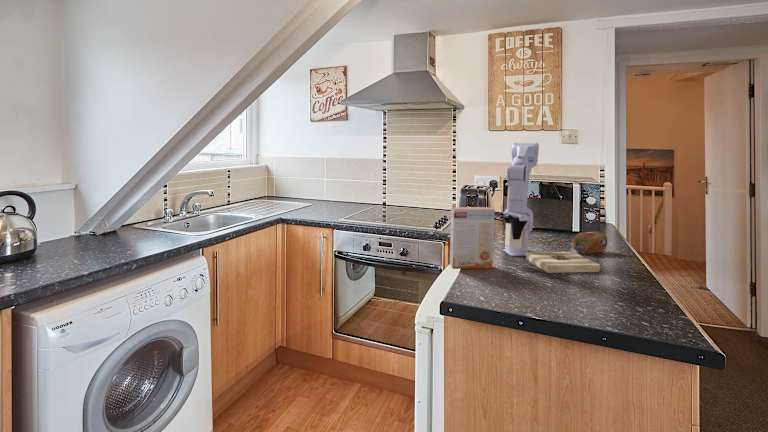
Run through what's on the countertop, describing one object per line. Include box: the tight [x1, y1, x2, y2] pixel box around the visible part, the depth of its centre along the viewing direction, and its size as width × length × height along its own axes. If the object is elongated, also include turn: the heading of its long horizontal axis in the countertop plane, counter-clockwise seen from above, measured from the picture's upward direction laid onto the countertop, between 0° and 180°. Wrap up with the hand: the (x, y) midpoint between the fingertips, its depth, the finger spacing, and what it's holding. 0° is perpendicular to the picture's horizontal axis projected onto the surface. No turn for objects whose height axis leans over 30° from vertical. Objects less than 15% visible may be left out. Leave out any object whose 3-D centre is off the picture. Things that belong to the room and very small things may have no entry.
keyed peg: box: [504, 223, 525, 248], centre depth 149 cm, size 4×6×8 cm
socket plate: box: [525, 251, 601, 274], centre depth 150 cm, size 18×18×2 cm
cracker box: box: [449, 206, 496, 270], centre depth 145 cm, size 14×6×21 cm, turn 92°
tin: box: [572, 231, 608, 255], centre depth 169 cm, size 15×3×8 cm, turn 105°
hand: (513, 237), depth 149 cm, fingers closed on keyed peg, 4 cm apart
